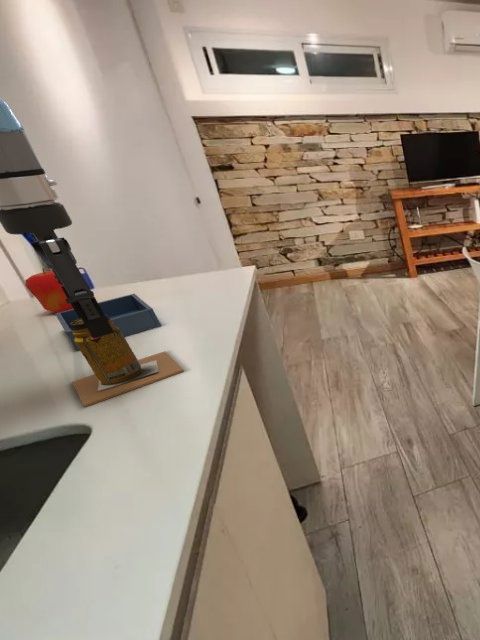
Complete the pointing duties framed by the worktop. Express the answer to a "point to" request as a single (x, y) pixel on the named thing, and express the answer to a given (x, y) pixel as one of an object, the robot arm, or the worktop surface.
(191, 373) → the worktop surface
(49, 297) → the apple
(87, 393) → the mat
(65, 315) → the bin
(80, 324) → the condiment
